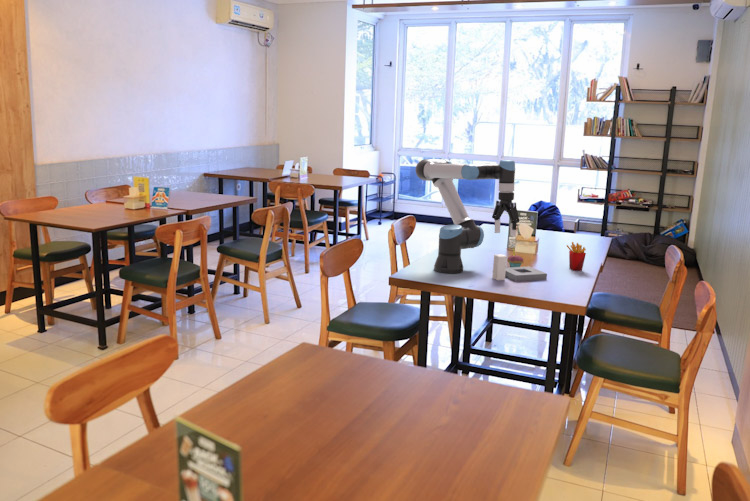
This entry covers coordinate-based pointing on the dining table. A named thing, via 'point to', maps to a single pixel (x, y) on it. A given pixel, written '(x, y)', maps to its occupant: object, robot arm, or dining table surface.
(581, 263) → the french fries
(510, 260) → the cupcake
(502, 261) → the plug
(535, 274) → the socket
